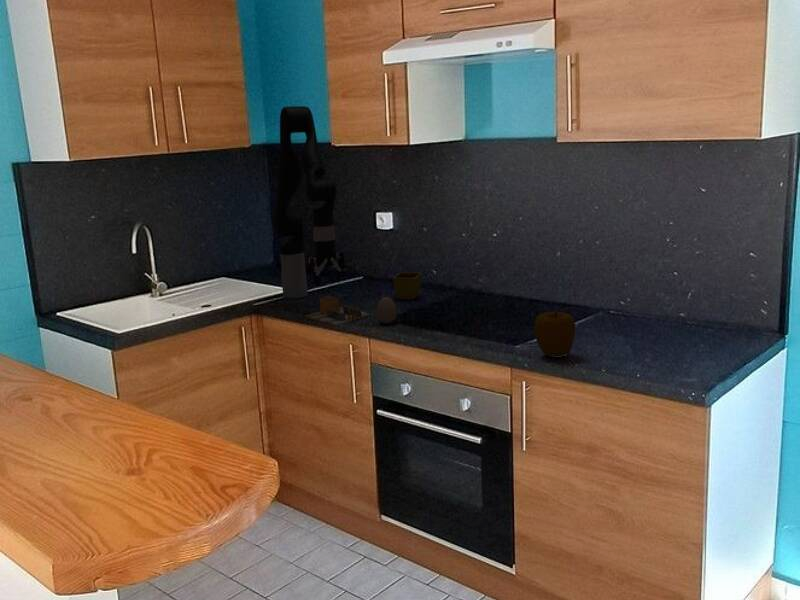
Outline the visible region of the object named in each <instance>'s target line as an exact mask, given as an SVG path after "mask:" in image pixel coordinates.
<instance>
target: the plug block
mask: <svg viewBox="0 0 800 600" xmlns="http://www.w3.org/2000/svg"><path fill="white" fill-rule="evenodd" d="M339 307H340V300H339V298H336V297H335V296H330V295H327V296H321V298H319V308H320V310H319V311H320V312H321V313H324V314H327V310H328V309H331V310H335V311H339ZM339 312H340V311H339Z"/></svg>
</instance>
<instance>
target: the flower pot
mask: <svg viewBox="0 0 800 600" xmlns="http://www.w3.org/2000/svg"><path fill="white" fill-rule="evenodd" d="M392 281H393V282H392V283H393V286H394V291H395V293H396V295H397V297H398V299H400V300H401V301H402V300H406V301H407V300H410V301H412V300H414V299H416V298H417V297H418V295H419V293H420V290H421V286H422V285H421V284H422V272H399V273H397V274H396V275H395V276H393V277H392Z"/></svg>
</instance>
